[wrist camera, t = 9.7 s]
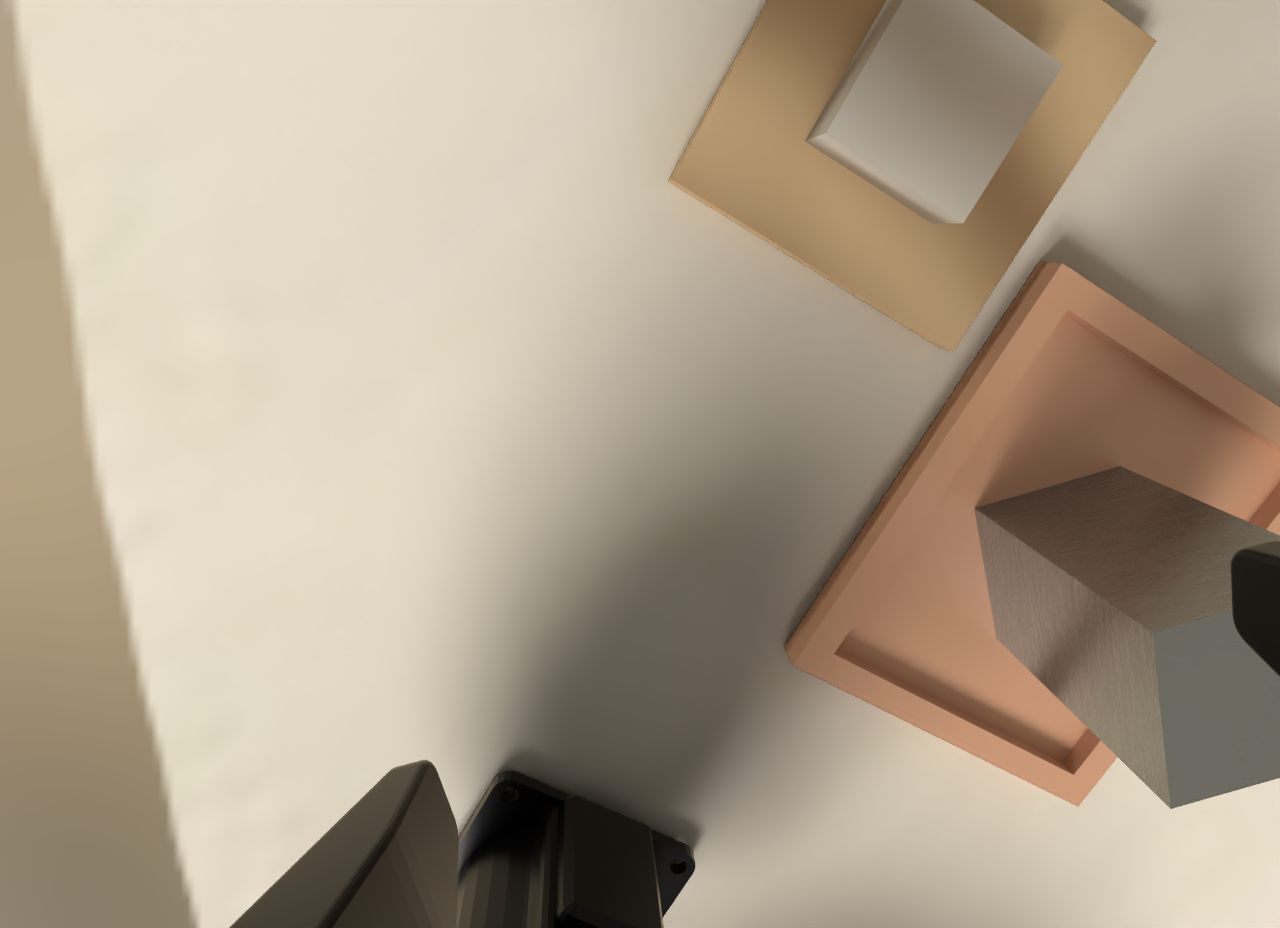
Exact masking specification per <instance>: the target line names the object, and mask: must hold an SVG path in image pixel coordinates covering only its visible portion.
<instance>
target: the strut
mask: <svg viewBox="0 0 1280 928" xmlns="http://www.w3.org/2000/svg"><path fill="white" fill-rule="evenodd" d="M974 510H975V515H976V521H977V527H978V533H979V539H980V545H981V551H982V557H983V563H984V569H985V575H986V581H987V587H988V593H989V599H990V604H991V610H992V616H993V622H994V628H995V634H996V639H997V640H998V641H999V642H1000V643H1001V644H1002V645H1003V646H1005V647H1006V648H1007V649H1008V650H1009V651H1010V652H1011V653H1012V654H1013V655H1014V656H1015V657H1016V658H1017V659H1018V660H1019V661H1020V662H1021V663H1022V664H1023V665H1024V666H1025V667H1026V668H1027V669H1028V670H1029V671H1030V672H1031V673H1032V674H1033V675H1034V676H1035V677H1036V678H1037V679H1038V680H1039V681H1040V682H1041V683H1042V684H1043V685H1044V686H1046V687H1047V688H1048V689H1049V690H1050V691H1051V692H1052V693H1053V694H1054V695H1055V696H1056V697H1057V698H1058V699H1059V700H1060V701H1061V702H1062V703H1063V704H1064V705H1065V706H1066V707H1067V708H1068V709H1069V710H1070V711H1071V712H1072V713H1073V714H1074V715H1075V716H1076V717H1077V718H1078V719H1079V720H1080V721H1081V722H1082V723H1083V724H1084V725H1085V726H1087V727H1088V728H1089V729H1090V730H1091V731H1092V732H1093V733H1094V734H1095V735H1096V736H1097V737H1098V738H1099V739H1100V740H1101V741H1102V742H1103V743H1104V744H1105V745H1106V746H1107V747H1108V748H1109V749H1110V750H1111V751H1112V752H1113V753H1114V754H1115V755H1116V756H1117V757H1118V758H1119V759H1120V760H1121V761H1122V762H1123V763H1124V764H1125V765H1126V766H1127V767H1129V768H1130V769H1131V770H1132V771H1133V772H1134V773H1135V774H1136V775H1137V776H1138V777H1139V778H1140V779H1141V780H1142V781H1143V782H1144V783H1145V784H1146V785H1147V786H1148V787H1149V788H1150V789H1151V790H1152V791H1153V792H1154V793H1155V794H1156V795H1157V796H1158V797H1159V798H1160V799H1161V800H1162V801H1163V802H1164V803H1165V804H1166V805H1167V806H1168V807H1170V808H1171V809H1172V808H1175V807H1179V806H1182V805H1186V804H1189V803H1193V802H1196V801H1200V800H1203V799H1207V798H1211V797H1214V796H1218V795H1221V794H1225V793H1228V792H1232V791H1235V790H1239V789H1242V788H1246V787H1249V786H1253V785H1256V784H1260V783H1263V782H1267V781H1270V780H1274V779H1277V778H1280V677H1279V676H1278V675H1277V674H1276V673H1275V672H1274V671H1273V670H1272V669H1271V668H1270V667H1269V666H1268V665H1267V664H1266V663H1265V662H1264V661H1263V660H1262V659H1261V658H1260V657H1259V656H1258V655H1257V654H1256V653H1255V652H1254V651H1253V650H1252V649H1251V648H1250V647H1249V646H1248V645H1247V644H1246V643H1245V642H1244V640H1243V639H1242V638H1241V636H1240V635H1239V633H1238V632H1237V630H1236V628H1235V625H1234V621H1233V616H1232V591H1231V560H1232V557H1233V556H1234V554H1235V553H1236V552H1237V551H1239V550H1241V549H1244V548H1247V547H1251V546H1255V545H1259V544H1263V543H1266V542H1272V541H1280V535H1277V534H1275V533H1273V532H1270V531H1268V530H1266V529H1264V528H1261V527H1259V526H1257V525H1254V524H1252V523H1250V522H1247V521H1245V520H1243V519H1241V518H1238V517H1236V516H1234V515H1231V514H1229V513H1227V512H1225V511H1222V510H1220V509H1218V508H1215V507H1213V506H1211V505H1208V504H1206V503H1204V502H1202V501H1199V500H1197V499H1195V498H1192V497H1190V496H1188V495H1185V494H1183V493H1181V492H1179V491H1176V490H1174V489H1172V488H1169V487H1167V486H1165V485H1163V484H1160V483H1158V482H1156V481H1153V480H1151V479H1149V478H1146V477H1144V476H1142V475H1140V474H1137V473H1135V472H1133V471H1130V470H1128V469H1126V468H1123V467H1121V466H1119V467H1115V468H1112V469H1108V470H1105V471H1101V472H1098V473H1095V474H1091V475H1088V476H1084V477H1081V478H1077V479H1074V480H1070V481H1067V482H1063V483H1060V484H1056V485H1053V486H1049V487H1046V488H1042V489H1039V490H1035V491H1032V492H1029V493H1025V494H1022V495H1018V496H1015V497H1011V498H1008V499H1004V500H1001V501H997V502H994V503H990V504H987V505H983V506H980V507H976V508H974Z"/></svg>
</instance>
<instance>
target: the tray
mask: <svg viewBox="0 0 1280 928" xmlns="http://www.w3.org/2000/svg"><path fill="white" fill-rule="evenodd" d="M1119 466H1121V467H1123V468H1126V469H1128V470H1130V471H1133V472H1135V473H1137V474H1140V475H1142V476H1144V477H1146V478H1149V479H1151V480H1153V481H1156V482H1158V483H1160V484H1163V485H1165V486H1167V487H1169V488H1172V489H1174V490H1176V491H1179V492H1181V493H1183V494H1185V495H1188V496H1190V497H1192V498H1195V499H1197V500H1199V501H1202V502H1204V503H1206V504H1208V505H1211V506H1213V507H1215V508H1218V509H1220V510H1222V511H1225V512H1227V513H1229V514H1231V515H1234V516H1236V517H1238V518H1241V519H1243V520H1245V521H1247V522H1250V523H1252V524H1254V525H1257V526H1259V527H1261V528H1264V529H1266V530H1268V531H1270V532H1273V533H1275V534H1277V535H1280V407H1279V406H1277V405H1276V404H1274V403H1272V402H1271V401H1269V400H1268V399H1266V398H1265V397H1263V396H1262V395H1260V394H1259V393H1257V392H1256V391H1254V390H1253V389H1251V388H1250V387H1248V386H1247V385H1245V384H1244V383H1242V382H1241V381H1239V380H1238V379H1236V378H1235V377H1233V376H1232V375H1230V374H1229V373H1227V372H1226V371H1224V370H1223V369H1221V368H1220V367H1218V366H1217V365H1215V364H1214V363H1212V362H1211V361H1209V360H1208V359H1206V358H1205V357H1203V356H1202V355H1200V354H1199V353H1197V352H1196V351H1194V350H1193V349H1191V348H1190V347H1188V346H1187V345H1185V344H1184V343H1182V342H1181V341H1179V340H1178V339H1176V338H1175V337H1173V336H1172V335H1170V334H1168V333H1167V332H1165V331H1164V330H1162V329H1161V328H1159V327H1158V326H1156V325H1155V324H1153V323H1152V322H1150V321H1149V320H1147V319H1146V318H1144V317H1143V316H1141V315H1140V314H1138V313H1137V312H1135V311H1134V310H1132V309H1131V308H1129V307H1128V306H1126V305H1125V304H1123V303H1122V302H1120V301H1119V300H1117V299H1116V298H1114V297H1113V296H1111V295H1110V294H1108V293H1107V292H1105V291H1104V290H1102V289H1101V288H1099V287H1098V286H1096V285H1095V284H1093V283H1092V282H1090V281H1089V280H1087V279H1086V278H1084V277H1083V276H1081V275H1080V274H1078V273H1077V272H1075V271H1074V270H1072V269H1071V268H1069V267H1068V266H1066V265H1064V264H1063V263H1054V262H1039V263H1038V265H1037V266H1036V268H1035V269H1034V271H1033V272H1032V274H1031V275H1030V277H1029V278H1028V280H1027V281H1026V283H1025V284H1024V286H1023V287H1022V289H1021V290H1020V292H1019V293H1018V295H1017V296H1016V298H1015V299H1014V301H1013V302H1012V304H1011V305H1010V307H1009V308H1008V310H1007V311H1006V313H1005V314H1004V316H1003V317H1002V319H1001V320H1000V322H999V323H998V325H997V326H996V328H995V330H994V331H993V333H992V334H991V336H990V337H989V339H988V340H987V342H986V343H985V345H984V346H983V348H982V349H981V351H980V352H979V354H978V355H977V357H976V358H975V360H974V361H973V363H972V364H971V366H970V367H969V369H968V370H967V372H966V373H965V375H964V376H963V378H962V379H961V381H960V382H959V384H958V385H957V387H956V388H955V390H954V391H953V393H952V394H951V396H950V397H949V399H948V400H947V402H946V403H945V405H944V406H943V408H942V409H941V411H940V412H939V414H938V416H937V417H936V419H935V420H934V422H933V423H932V425H931V426H930V428H929V429H928V431H927V432H926V434H925V435H924V437H923V438H922V440H921V441H920V443H919V444H918V446H917V447H916V449H915V450H914V452H913V453H912V455H911V456H910V458H909V459H908V461H907V462H906V464H905V465H904V467H903V468H902V470H901V471H900V473H899V474H898V476H897V477H896V479H895V480H894V482H893V483H892V485H891V486H890V488H889V489H888V491H887V492H886V494H885V495H884V497H883V498H882V500H881V502H880V503H879V505H878V506H877V508H876V509H875V511H874V512H873V514H872V515H871V517H870V518H869V520H868V521H867V523H866V524H865V526H864V527H863V529H862V530H861V532H860V533H859V535H858V536H857V538H856V539H855V541H854V542H853V544H852V545H851V547H850V548H849V550H848V551H847V553H846V554H845V556H844V557H843V559H842V560H841V562H840V563H839V565H838V566H837V568H836V569H835V571H834V572H833V574H832V575H831V577H830V578H829V580H828V581H827V583H826V584H825V586H824V588H823V589H822V591H821V592H820V594H819V595H818V597H817V598H816V600H815V601H814V603H813V604H812V606H811V607H810V609H809V610H808V612H807V613H806V615H805V616H804V618H803V619H802V621H801V622H800V624H799V625H798V627H797V628H796V630H795V631H794V633H793V634H792V636H791V637H790V639H789V640H788V642H787V643H786V645H785V646H784V648H785V650H786V652H787V654H788V656H789V659H790V661H791V663H792V665H793V666H795V667H797V668H799V669H801V670H803V671H805V672H807V673H809V674H811V675H813V676H815V677H817V678H819V679H821V680H823V681H825V682H827V683H829V684H831V685H833V686H835V687H837V688H839V689H841V690H843V691H845V692H847V693H849V694H852V695H854V696H856V697H858V698H860V699H862V700H864V701H866V702H868V703H870V704H872V705H874V706H876V707H878V708H880V709H882V710H884V711H886V712H888V713H890V714H892V715H894V716H896V717H898V718H900V719H902V720H904V721H906V722H908V723H910V724H912V725H914V726H916V727H918V728H920V729H922V730H924V731H926V732H928V733H930V734H932V735H934V736H936V737H938V738H940V739H942V740H944V741H946V742H948V743H950V744H952V745H955V746H957V747H959V748H961V749H963V750H965V751H967V752H969V753H971V754H973V755H975V756H977V757H979V758H981V759H983V760H985V761H987V762H989V763H991V764H993V765H995V766H997V767H999V768H1001V769H1003V770H1005V771H1007V772H1009V773H1011V774H1013V775H1015V776H1017V777H1019V778H1021V779H1023V780H1025V781H1027V782H1029V783H1031V784H1033V785H1035V786H1037V787H1039V788H1041V789H1043V790H1045V791H1047V792H1049V793H1051V794H1053V795H1055V796H1058V797H1060V798H1062V799H1064V800H1066V801H1068V802H1070V803H1072V804H1074V805H1076V806H1079V805H1080V804H1081V802H1082V801H1083V800H1084V799H1085V797H1086V796H1087V795H1088V794H1089V792H1090V791H1091V790H1092V789H1093V787H1094V786H1095V785H1096V784H1097V782H1098V781H1099V780H1100V778H1101V777H1102V776H1103V775H1104V773H1105V772H1106V771H1107V770H1108V768H1109V767H1110V766H1111V765H1112V763H1113V762H1114V761H1115V760H1116V758H1117V756H1116V755H1115V754H1114V753H1113V752H1112V751H1111V750H1110V749H1109V748H1108V747H1107V746H1106V745H1105V744H1104V743H1103V742H1102V741H1101V740H1100V739H1099V738H1098V737H1097V736H1096V735H1095V734H1094V733H1093V732H1092V731H1091V730H1090V729H1089V728H1088V727H1087V726H1085V725H1084V724H1083V723H1082V722H1081V721H1080V720H1079V719H1078V718H1077V717H1076V716H1075V715H1074V714H1073V713H1072V712H1071V711H1070V710H1069V709H1068V708H1067V707H1066V706H1065V705H1064V704H1063V703H1062V702H1061V701H1060V700H1059V699H1058V698H1057V697H1056V696H1055V695H1054V694H1053V693H1052V692H1051V691H1050V690H1049V689H1048V688H1047V687H1046V686H1044V685H1043V684H1042V683H1041V682H1040V681H1039V680H1038V679H1037V678H1036V677H1035V676H1034V675H1033V674H1032V673H1031V672H1030V671H1029V670H1028V669H1027V668H1026V667H1025V666H1024V665H1023V664H1022V663H1021V662H1020V661H1019V660H1018V659H1017V658H1016V657H1015V656H1014V655H1013V654H1012V653H1011V652H1010V651H1009V650H1008V649H1007V648H1006V647H1005V646H1003V645H1002V644H1001V643H1000V642H999V641H998V640H997V639H996V634H995V628H994V622H993V616H992V610H991V604H990V599H989V593H988V587H987V581H986V575H985V569H984V563H983V557H982V551H981V545H980V539H979V533H978V527H977V521H976V515H975V510H974V508H976V507H980V506H983V505H987V504H990V503H994V502H997V501H1001V500H1004V499H1008V498H1011V497H1015V496H1018V495H1022V494H1025V493H1029V492H1032V491H1035V490H1039V489H1042V488H1046V487H1049V486H1053V485H1056V484H1060V483H1063V482H1067V481H1070V480H1074V479H1077V478H1081V477H1084V476H1088V475H1091V474H1095V473H1098V472H1101V471H1105V470H1108V469H1112V468H1115V467H1119Z"/></svg>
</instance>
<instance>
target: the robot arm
mask: <svg viewBox="0 0 1280 928" xmlns="http://www.w3.org/2000/svg"><path fill="white" fill-rule="evenodd" d="M1231 591H1232V616H1233V621H1234V625H1235V628H1236V630H1237V632H1238V633H1239V635H1240V636H1241V638H1242V639H1243V640H1244V642H1245V643H1246V644H1247V645H1248V646H1249V647H1250V648H1251V649H1252V650H1253V651H1254V652H1255V653H1256V654H1257V655H1258V656H1259V657H1260V658H1261V659H1262V660H1263V661H1264V662H1265V663H1266V664H1267V665H1268V666H1269V667H1270V668H1271V669H1272V670H1273V671H1274V672H1275V673H1276V674H1277V675H1278V676H1279V677H1280V541H1272V542H1266V543H1263V544H1259V545H1255V546H1251V547H1247V548H1244V549H1241V550H1239V551H1237V552H1236V553H1235V554H1234V556H1233V557H1232V560H1231ZM508 787H510V788H514V789H515V790H516V792H515V793H511V794H509V793H505V792H504V791H503V789H504V788H508ZM675 860H683V862H682V863H679V864H673V863H672V862H673V861H675ZM694 870H695V860H694V855H693V851H692V850H691V848H690V847H689V846H687V845H686V844H684V843H681V842H679V841H677V840H675V839H672V838H670V837H668V836H665V835H663V834H661V833H658V832H656V831H654V830H651V829H650V828H649V827H648V826H647V825H644V824H642V823H640V822H637V821H635V820H633V819H630V818H628V817H626V816H624V815H621V814H619V813H617V812H614V811H612V810H610V809H607V808H605V807H603V806H600V805H598V804H596V803H593V802H591V801H589V800H586V799H584V798H582V797H579V796H572V795H570V794H568V793H565V792H563V791H561V790H558V789H556V788H554V787H551V786H549V785H547V784H544V783H542V782H540V781H537V780H535V779H533V778H530V777H528V776H526V775H523V774H521V773H519V772H515V771H505V772H503V773H500V774H498V776H497V777H496V778H495V779H494V780H493V782H492V784H491V785H490V787H489V789H488V790H487V792H486V794H485V795H484V797H483V799H482V800H481V802H480V804H479V805H478V807H477V809H476V810H475V812H474V814H473V815H472V817H471V819H470V820H469V822H468V824H467V825H466V827H465V829H464V830H463V832H462V834H461V836H460V837H459V838H458V830H457V825H456V821H455V818H454V815H453V812H452V810H451V807H450V804H449V802H448V799H447V796H446V794H445V791H444V788H443V786H442V783H441V780H440V778H439V775H438V772H437V770H436V768H435V767H434V765H433V764H432V763H431V762H430V761H427V760H422V761H418V762H414V763H410V764H406V765H402V766H398V767H395V768H393V769H392V770H390V771H389V772H388V773H387V774H386V775H385V776H384V777H383V778H382V779H381V780H380V781H379V782H378V783H377V784H376V785H375V786H374V787H373V788H372V789H371V790H370V791H369V792H368V793H367V794H366V795H365V796H364V797H363V798H362V799H361V800H360V801H358V802H357V803H356V804H355V805H354V806H353V807H352V808H351V809H350V810H349V811H348V812H347V813H346V814H345V815H344V816H343V817H342V818H341V819H340V820H339V821H338V822H337V823H336V824H335V825H334V826H333V827H332V828H331V829H330V830H329V831H328V832H327V833H326V834H325V835H324V836H323V837H322V838H321V839H320V840H319V841H318V842H317V843H315V844H314V845H313V846H312V847H311V848H310V849H309V850H308V851H307V852H306V853H305V854H304V855H303V856H302V857H301V858H300V859H299V860H298V861H297V862H296V863H295V864H294V865H293V866H292V867H291V868H290V869H289V870H288V871H287V872H286V873H285V874H284V875H283V876H282V877H281V878H280V879H279V880H278V881H277V882H276V883H275V884H274V885H273V886H271V887H270V888H269V889H268V890H267V891H266V892H265V893H264V894H263V895H262V896H261V897H260V898H259V899H258V900H257V901H256V902H255V903H254V904H253V905H252V906H251V907H250V908H249V909H248V910H247V911H246V912H245V913H244V914H243V915H242V916H241V917H240V918H239V919H238V920H237V921H236V922H235V923H234V924H233V925H232V926H231V927H230V928H664V926H663V916H664V915H665V914H666V912H667V911H668V909H669V908H670V906H671V905H672V903H673V902H674V900H675V899H676V897H677V896H678V894H679V893H680V892H681V890H682V889H683V887H684V886H685V884H686V883H687V881H688V880H689V878H690V877H691V875H692V874H693V872H694Z"/></svg>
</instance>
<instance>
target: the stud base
mask: <svg viewBox="0 0 1280 928" xmlns="http://www.w3.org/2000/svg"><path fill="white" fill-rule="evenodd" d="M1155 43H1156V40H1155V39H1153V38H1152V37H1151V36H1149V35H1148V34H1147V33H1146V32H1144V31H1143V30H1142V29H1140V28H1139V27H1138V26H1136V25H1135V24H1134V23H1132V22H1131V21H1130V20H1128V19H1127V18H1126V17H1124V16H1123V15H1122V14H1120V13H1119V12H1118V11H1116V10H1115V9H1114V8H1112V7H1111V6H1110V5H1108V4H1107V3H1106V2H1104V1H1103V0H767V2H766V4H765V5H764V7H763V9H762V11H761V13H760V14H759V16H758V18H757V20H756V22H755V24H754V25H753V27H752V29H751V31H750V33H749V35H748V36H747V38H746V40H745V42H744V44H743V46H742V47H741V49H740V51H739V53H738V55H737V56H736V58H735V60H734V62H733V64H732V66H731V67H730V69H729V71H728V73H727V75H726V77H725V78H724V80H723V82H722V84H721V86H720V88H719V89H718V91H717V93H716V95H715V97H714V98H713V100H712V102H711V104H710V106H709V108H708V109H707V111H706V113H705V115H704V117H703V119H702V120H701V122H700V124H699V126H698V128H697V130H696V131H695V133H694V135H693V137H692V139H691V140H690V142H689V144H688V146H687V148H686V150H685V151H684V153H683V155H682V157H681V159H680V161H679V162H678V164H677V166H676V168H675V170H674V172H673V173H672V175H671V177H670V179H669V182H670V183H672V184H674V185H675V186H677V187H678V188H680V189H682V190H683V191H685V192H687V193H688V194H690V195H691V196H693V197H695V198H696V199H698V200H700V201H701V202H703V203H705V204H706V205H708V206H709V207H711V208H713V209H714V210H716V211H718V212H719V213H721V214H722V215H724V216H726V217H727V218H729V219H731V220H732V221H734V222H735V223H737V224H739V225H740V226H742V227H744V228H745V229H747V230H749V231H750V232H752V233H753V234H755V235H757V236H758V237H760V238H762V239H763V240H765V241H766V242H768V243H770V244H771V245H773V246H775V247H776V248H778V249H780V250H781V251H783V252H784V253H786V254H788V255H789V256H791V257H793V258H794V259H796V260H797V261H799V262H801V263H802V264H804V265H806V266H807V267H809V268H810V269H812V270H814V271H815V272H817V273H819V274H820V275H822V276H824V277H825V278H827V279H828V280H830V281H832V282H833V283H835V284H837V285H838V286H840V287H841V288H843V289H845V290H846V291H848V292H850V293H851V294H853V295H855V296H856V297H858V298H859V299H861V300H863V301H864V302H866V303H868V304H869V305H871V306H872V307H874V308H876V309H877V310H879V311H881V312H882V313H884V314H886V315H887V316H889V317H890V318H892V319H894V320H895V321H897V322H899V323H900V324H902V325H903V326H905V327H907V328H908V329H910V330H912V331H913V332H915V333H916V334H918V335H920V336H921V337H923V338H925V339H926V340H928V341H930V342H931V343H933V344H934V345H936V346H938V347H940V348H943V349H946V350H949V351H952V352H953V351H954V349H955V348H956V346H957V345H958V343H959V342H960V340H961V339H962V337H963V336H964V334H965V333H966V331H967V330H968V328H969V327H970V325H971V323H972V322H973V320H974V319H975V317H976V316H977V314H978V313H979V311H980V310H981V308H982V307H983V305H984V304H985V302H986V301H987V299H988V298H989V296H990V294H991V293H992V291H993V290H994V288H995V287H996V285H997V284H998V282H999V281H1000V279H1001V278H1002V276H1003V275H1004V273H1005V272H1006V270H1007V269H1008V267H1009V265H1010V264H1011V262H1012V261H1013V259H1014V258H1015V256H1016V255H1017V253H1018V252H1019V250H1020V249H1021V247H1022V246H1023V244H1024V243H1025V241H1026V240H1027V238H1028V236H1029V235H1030V233H1031V232H1032V230H1033V229H1034V227H1035V226H1036V224H1037V223H1038V221H1039V220H1040V218H1041V217H1042V215H1043V214H1044V212H1045V211H1046V209H1047V207H1048V206H1049V204H1050V203H1051V201H1052V200H1053V198H1054V197H1055V195H1056V194H1057V192H1058V191H1059V189H1060V188H1061V186H1062V185H1063V183H1064V182H1065V180H1066V178H1067V177H1068V175H1069V174H1070V172H1071V171H1072V169H1073V168H1074V166H1075V165H1076V163H1077V162H1078V160H1079V159H1080V157H1081V156H1082V154H1083V153H1084V151H1085V149H1086V148H1087V146H1088V145H1089V143H1090V142H1091V140H1092V139H1093V137H1094V136H1095V134H1096V133H1097V131H1098V130H1099V128H1100V127H1101V125H1102V124H1103V122H1104V120H1105V119H1106V117H1107V116H1108V114H1109V113H1110V111H1111V110H1112V108H1113V107H1114V105H1115V104H1116V102H1117V101H1118V99H1119V98H1120V96H1121V95H1122V93H1123V91H1124V90H1125V88H1126V87H1127V85H1128V84H1129V82H1130V81H1131V79H1132V78H1133V76H1134V75H1135V73H1136V72H1137V70H1138V69H1139V67H1140V66H1141V64H1142V62H1143V61H1144V59H1145V58H1146V56H1147V55H1148V53H1149V52H1150V50H1151V49H1152V47H1153V46H1154V44H1155Z"/></svg>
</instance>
